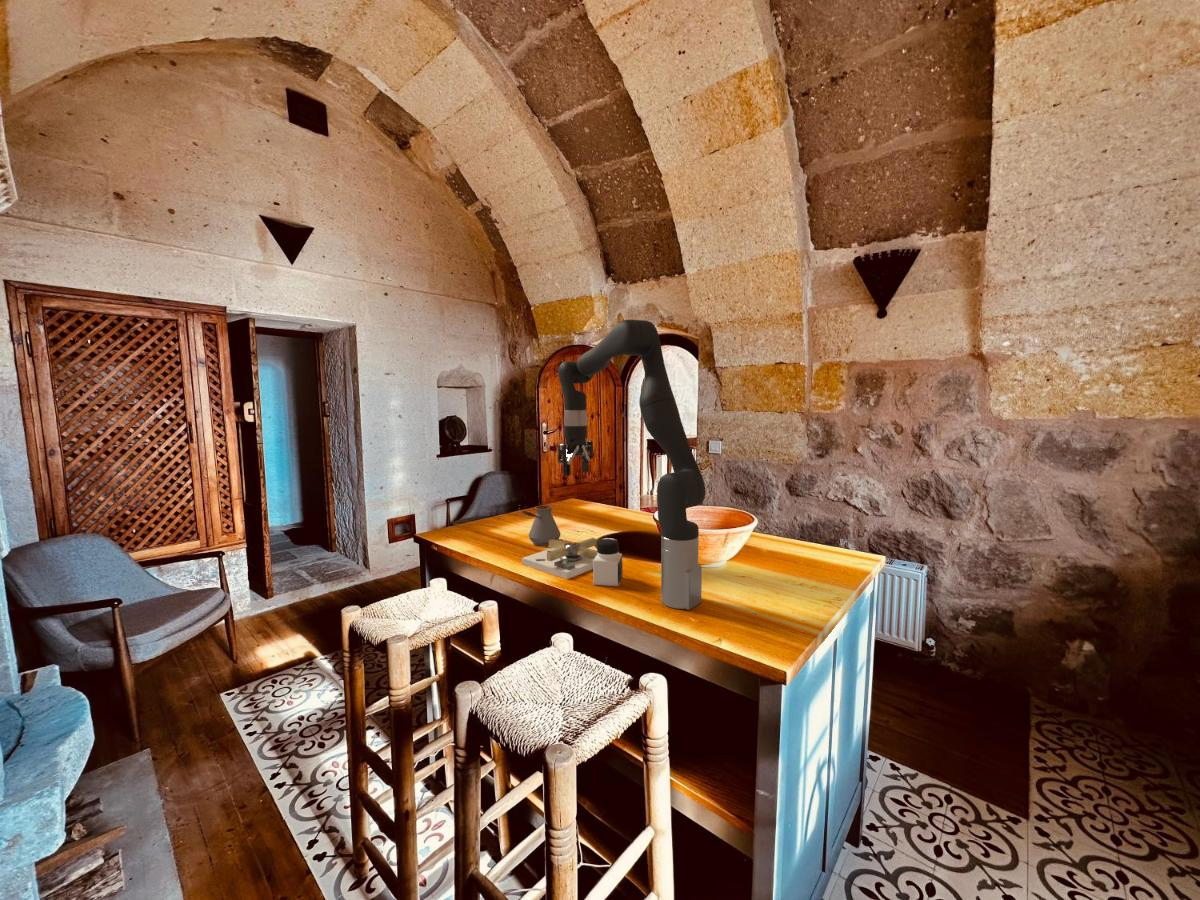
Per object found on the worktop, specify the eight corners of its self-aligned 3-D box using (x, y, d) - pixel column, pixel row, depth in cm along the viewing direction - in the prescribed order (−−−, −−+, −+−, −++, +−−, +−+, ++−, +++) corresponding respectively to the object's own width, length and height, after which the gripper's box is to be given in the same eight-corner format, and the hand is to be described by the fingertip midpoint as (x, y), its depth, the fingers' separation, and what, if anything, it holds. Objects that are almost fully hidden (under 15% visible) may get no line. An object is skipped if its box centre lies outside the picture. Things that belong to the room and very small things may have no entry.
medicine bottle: (618, 586, 136) (618, 544, 134) (593, 585, 137) (592, 543, 136) (622, 577, 142) (622, 536, 141) (598, 575, 144) (597, 535, 143)
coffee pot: (538, 536, 185) (536, 497, 183) (566, 539, 181) (565, 499, 179) (507, 554, 165) (506, 510, 163) (538, 557, 161) (537, 512, 159)
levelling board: (609, 562, 156) (609, 550, 155) (566, 579, 142) (566, 566, 141) (565, 549, 169) (565, 539, 168) (522, 564, 155) (521, 552, 154)
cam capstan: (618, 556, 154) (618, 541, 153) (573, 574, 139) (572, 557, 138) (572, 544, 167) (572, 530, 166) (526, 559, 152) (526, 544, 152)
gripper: (568, 426, 151) (569, 478, 153) (598, 423, 162) (599, 472, 164) (551, 425, 156) (552, 475, 158) (581, 422, 167) (582, 470, 168)
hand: (576, 473), depth 161 cm, fingers open, 8 cm apart
